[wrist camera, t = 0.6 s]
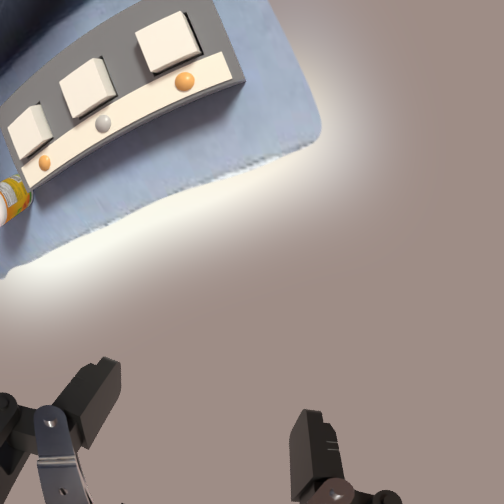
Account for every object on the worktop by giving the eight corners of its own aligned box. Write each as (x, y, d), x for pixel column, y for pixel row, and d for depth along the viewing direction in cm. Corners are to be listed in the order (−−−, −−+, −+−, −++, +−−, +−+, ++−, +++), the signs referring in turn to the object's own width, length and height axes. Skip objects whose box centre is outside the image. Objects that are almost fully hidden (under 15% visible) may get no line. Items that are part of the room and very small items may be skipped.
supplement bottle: (19, 212, 35) (-21, 243, 26) (5, 182, 32) (-37, 208, 24) (39, 199, 34) (-4, 230, 25) (24, 166, 31) (-22, 191, 23)
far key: (34, 153, 27) (19, 159, 24) (22, 123, 25) (7, 127, 22) (57, 135, 26) (42, 140, 24) (44, 103, 24) (29, 106, 22)
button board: (49, 180, 32) (26, 194, 28) (19, 106, 27) (-7, 112, 22) (246, 81, 28) (244, 78, 23) (207, -10, 22) (199, -27, 17)
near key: (159, 73, 24) (150, 71, 21) (145, 37, 22) (134, 32, 19) (202, 54, 23) (197, 50, 20) (187, 18, 21) (180, 10, 18)
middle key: (86, 115, 25) (72, 118, 23) (73, 81, 23) (59, 82, 21) (119, 94, 24) (107, 95, 22) (105, 59, 22) (92, 57, 20)
